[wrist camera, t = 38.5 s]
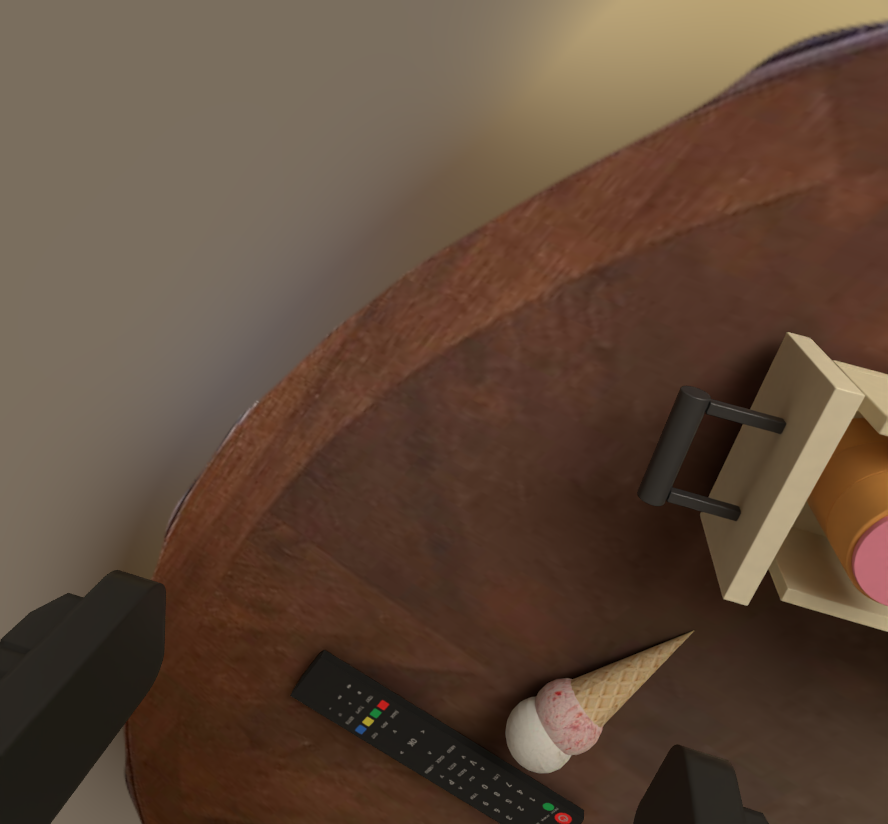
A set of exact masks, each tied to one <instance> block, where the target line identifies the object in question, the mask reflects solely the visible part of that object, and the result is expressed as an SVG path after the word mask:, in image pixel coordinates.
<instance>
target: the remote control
mask: <svg viewBox="0 0 888 824" xmlns="http://www.w3.org/2000/svg"><path fill="white" fill-rule="evenodd" d="M290 696H292V697H293V698H295V699H297V700H298V701H300V702H302V703H303V704H305V705H306V706H308V707H310V708H311V709H313V710H315V711H316V712H318V713H320V714H321V715H323V716H325V717H326V718H328V719H329V720H331V721H333V722H334V723H336V724H338V725H339V726H341V727H343V728H344V729H346V730H348V731H349V732H351V733H352V734H354V735H356V736H357V737H359V738H361V739H362V740H364V741H366V742H367V743H369V744H371V745H372V746H374V747H375V748H377V749H379V750H380V751H382V752H384V753H385V754H387V755H389V756H390V757H392V758H393V759H395V760H397V761H398V762H400V763H402V764H403V765H405V766H407V767H408V768H410V769H412V770H413V771H415V772H416V773H418V774H420V775H421V776H423V777H425V778H426V779H428V780H430V781H431V782H433V783H435V784H436V785H438V786H439V787H441V788H443V789H444V790H446V791H448V792H449V793H451V794H453V795H454V796H456V797H457V798H459V799H461V800H462V801H464V802H466V803H467V804H469V805H471V806H472V807H474V808H476V809H477V810H479V811H480V812H482V813H484V814H485V815H487V816H489V817H490V818H492V819H494V820H495V821H497V822H499V823H500V824H581V823H582V821H583V820H584V810H583V809H581V808H579V807H578V806H576V805H575V804H573V803H571V802H570V801H568V800H566V799H565V798H563V797H562V796H560V795H558V794H557V793H555V792H554V791H552V790H550V789H549V788H547V787H545V786H544V785H542V784H541V783H539V782H537V781H536V780H534V779H533V778H531V777H529V776H528V775H526V774H524V773H523V772H521V771H520V770H518V769H516V768H515V767H513V766H512V765H510V764H508V763H507V762H505V761H503V760H502V759H500V758H499V757H497V756H495V755H494V754H492V753H491V752H489V751H487V750H486V749H484V748H482V747H481V746H479V745H478V744H476V743H474V742H473V741H471V740H470V739H468V738H466V737H465V736H463V735H461V734H460V733H458V732H457V731H455V730H453V729H452V728H450V727H449V726H447V725H445V724H444V723H442V722H440V721H439V720H437V719H436V718H434V717H432V716H431V715H429V714H428V713H426V712H424V711H423V710H421V709H419V708H418V707H416V706H415V705H413V704H411V703H410V702H408V701H407V700H405V699H403V698H402V697H400V696H398V695H397V694H395V693H394V692H392V691H390V690H389V689H387V688H386V687H384V686H382V685H381V684H379V683H377V682H376V681H374V680H373V679H371V678H369V677H368V676H366V675H364V674H363V673H361V672H360V671H358V670H356V669H355V668H353V667H352V666H350V665H348V664H347V663H345V662H343V661H342V660H340V659H339V658H337V657H335V656H334V655H332V654H331V653H329V652H327V651H326V650H324V651H322V652H321V653H320V654H319V655H318V656H317V657H316V659H315V660H314V661H313V662H312V664H311V665H310V666H309V668H308V669H307V670H306V672H305V673H304V674H303V676H302V677H301V679H300V680H299V682H298V683H297V685H296V686H295V688H294V689H293V691H292V693H291V695H290Z"/></svg>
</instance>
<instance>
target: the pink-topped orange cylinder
mask: <svg viewBox="0 0 888 824" xmlns="http://www.w3.org/2000/svg"><path fill="white" fill-rule="evenodd" d="M807 503H808V505H809V506H810V508H811V510H812V512H813V514H814V515H815V517H816V519H817V521H818V523H819V524H820V526H821V528H822V530H823V532H824V533H825V535H826V537H827V539H828V541H829V542H830V544H831V546H832V548H833V550H834V551H835V553H836V555H837V557H838V559H839V561H840V562H841V564H842V566H843V568H844V570H845V571H846V573H847V575H848V577H849V579H850V580H851V582H852V583H853V585H854V586H855V587H856V588H857V589H858V590H859V591H860V592H861V593H862V594H863V595H865V596H866V597H868V598H870V599H871V600H873V601H875V602H878V603H880V604H883V605H886V606H888V436H884V435H881V434H879V433H878V432H877V431H876V430H875V429H874V428H873V427H872V426H871V424H870V423H869V422H868V421H867V420H866V419H865V418H854V419H852V420H851V422H850V424H849V426H848V427H847V429H846V431H845V433H844V435H843V436H842V438H841V440H840V442H839V443H838V445H837V447H836V449H835V451H834V452H833V454H832V456H831V458H830V460H829V461H828V463H827V465H826V467H825V468H824V470H823V472H822V474H821V476H820V477H819V479H818V481H817V483H816V484H815V486H814V488H813V490H812V492H811V493H810V495H809V497H808V499H807Z"/></svg>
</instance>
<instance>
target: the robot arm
mask: <svg viewBox="0 0 888 824" xmlns="http://www.w3.org/2000/svg"><path fill="white" fill-rule="evenodd" d="M165 608H166V590H165V587H164V585H163V584H161V583H158V582H155V581H152V580H148V579H145V578H142V577H139V576H136V575H133V574H129V573H126V572H122V571H120V570H115V571H112V572H110V573H109V574H107V576H105V577H104V578H103V579H102V580H101V581H100V582H99V583H98V584H97V585H96V586H95V587H94V588H93V589H92V590H91V591H90V592H89V593H88V594H87V595H86V596H85V597H84V598H83V597H80V596H77V595H73V594H70V593H67V594H65V595H63V596H61V597H59V598H57V599H55V600H53V601H51V602H50V603H48V604H46V605H44V606H42V607H40V608H38V609H36V610H34V611H32V612H30V613H29V614H28V615H27V616H26V617H25V618H24V619H23V620H21V621H20V622H19V623H18V624H17V625H16V626H15V627H14V628H13V629H12V630H10V631H9V632H8V633H7V634H6V635H5V636H4V637H3V638H2V639H1V641H0V824H51V822H52V821H53V819H54V818H55V817H56V815H57V814H58V813H59V811H60V810H61V809H62V807H63V806H64V805H65V803H66V802H67V801H68V799H69V798H70V797H71V795H72V794H73V793H74V791H75V790H76V789H77V787H78V786H79V785H80V783H81V782H82V780H83V779H84V778H85V776H86V775H87V774H88V772H89V771H90V769H91V768H92V767H93V766H94V764H95V763H96V762H97V760H98V759H99V758H100V756H101V755H102V754H103V752H104V751H105V750H106V748H107V747H108V745H109V744H110V743H111V741H112V740H113V739H114V737H115V736H116V735H117V733H118V732H119V731H120V729H121V728H122V727H123V725H124V724H125V723H126V721H127V720H128V719H129V717H130V716H131V715H132V713H133V712H134V711H135V709H136V708H137V706H138V705H139V704H140V702H141V701H142V700H143V698H144V697H145V696H146V694H147V693H148V691H149V690H150V688H151V687H152V685H153V683H154V681H155V679H156V677H157V675H158V672H159V670H160V667H161V664H162V661H163V656H164V644H165ZM633 824H769V823H768V822H767V820H766V818H765V817H764V815H763V813H760V812H757V811H754V810H751V809H748V808H745V807H743V805H742V800H741V796H740V791H739V787H738V782H737V778H736V774H735V770H734V768H733V766H732V764H731V763H730V762H729V761H728V760H725V759H722V758H719V757H716V756H712V755H709V754H706V753H703V752H700V751H697V750H693V749H690V748H687V747H684V746H681V745H674V746H673V747H672V748H671V749H670V751H669V752H668V754H667V756H666V757H665V759H664V761H663V763H662V765H661V766H660V768H659V770H658V772H657V773H656V775H655V777H654V779H653V780H652V782H651V784H650V786H649V788H648V789H647V791H646V793H645V795H644V796H643V798H642V800H641V802H640V804H639V806H638V808H637V811H636V815H635V819H634V823H633Z"/></svg>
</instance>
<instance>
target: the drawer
mask: <svg viewBox="0 0 888 824" xmlns="http://www.w3.org/2000/svg"><path fill="white" fill-rule="evenodd" d="M705 412H706V414H708V415H712V416H716V417H719V418H723V419H727V420H730V421H734V422H738V423H741V424H743V425H742V427H741V429H740V431H739V434H738V436H737V438H736V440H735V442H734V444H733V446H732V448H731V450H730V452H729V455H728V457H727V459H726V461H725V463H724V465H723V467H722V469H721V471H720V473H719V475H718V478H717V480H716V482H715V484H714V486H713V488H712V490H711V492H710V494H709V496H708V497H705V496H701V495H698V494H694V493H691V492H687V491H684V490H680V489H677V488H673V487H672V486H673V483H674V481H675V479H676V477H677V474H678V472H679V470H680V467H681V465H682V463H683V461H684V458H685V456H686V454H687V452H688V449H689V447H690V445H691V443H692V440H693V438H694V436H695V434H696V431H697V429H698V427H699V425H700V422H701V420H702V418H703V416H704V413H705ZM854 418H865V419H866V420H867V421H868V422H869V423H870V424H871V426H872V427H873V428H874V429H875V430H876V431H877V432H878V433H879V434H881V435H884V436H888V374H884V373H880V372H877V371H873V370H869V369H865V368H861V367H858V366H854V365H850V364H846V363H842V362H839V361H835V360H833V361H832V360H831V359H830V358H829V357H828V356H827V355H826V354H825V353H824V352H823V351H822V350H821V349H820V348H819V347H818V346H817V345H816V344H815V342H814V341H813V340H812V339H811V338H808V337H805V336H801V335H797V334H793V333H789V332H787V333H786V335H785V337H784V339H783V341H782V343H781V345H780V348H779V350H778V352H777V354H776V356H775V358H774V360H773V362H772V364H771V366H770V369H769V371H768V373H767V375H766V377H765V379H764V381H763V383H762V385H761V387H760V389H759V392H758V394H757V396H756V398H755V400H754V402H753V404H752V406H751V408H750V409H746V408H743V407H739V406H735V405H731V404H728V403H724V402H720V401H717V400H713V399H711V397H710V395H709V394H708V393H706V392H705V391H703V390H701V389H698V388H695V387H691V386H682V387H681V388H680V391H679V393H678V395H677V398H676V400H675V403H674V405H673V407H672V410H671V412H670V415H669V417H668V419H667V422H666V424H665V427H664V429H663V431H662V434H661V436H660V439H659V441H658V444H657V446H656V448H655V451H654V453H653V456H652V458H651V460H650V463H649V465H648V468H647V470H646V472H645V475H644V477H643V480H642V482H641V484H640V487H639V489H638V492H637V494H638V497H639V498H640V499H641V500H642V501H644V502H646V503H648V504H650V505H653V506H662V505H663V504H664V503H665V501H666V499H667V502H670V503H673V504H677V505H680V506H684V507H687V508H691V509H694V510H698V511H701V513H700V517H701V521H702V524H703V528H704V532H705V535H706V539H707V543H708V546H709V550H710V553H711V557H712V561H713V564H714V568H715V572H716V575H717V579H718V582H719V586H720V590H721V593H722V597H723V599H725V600H729V601H732V602H735V603H739V604H742V605H745V606H748V604H749V602H750V601H751V599H752V597H753V595H754V593H755V592H756V590H757V588H758V586H759V584H760V583H761V581H762V579H763V577H764V576H765V574H766V572H767V570H768V569H769V572H770V574H771V577H772V579H773V582H774V585H775V587H776V590H777V592H778V595H779V597H780V600H781V601H784V602H787V603H791V604H794V605H798V606H801V607H804V608H808V609H811V610H815V611H818V612H821V613H825V614H828V615H832V616H835V617H838V618H842V619H845V620H849V621H852V622H856V623H859V624H862V625H866V626H869V627H873V628H876V629H879V630H883V631H886V632H888V606H886V605H883V604H880V603H878V602H875V601H873V600H871V599H870V598H868V597H866V596H865V595H863V594H862V593H861V592H860V591H859V590H858V589H857V588H856V587H855V586H854V585H853V583H852V582H851V580H850V579H849V577H848V575H847V573H846V571H845V570H844V568H843V566H842V564H841V562H840V561H839V559H838V557H837V555H836V553H835V551H834V550H833V548H832V546H831V544H830V542H829V541H828V539H827V537H826V535H825V533H824V532H823V530H822V528H821V526H820V524H819V523H818V521H817V519H816V517H815V515H814V514H813V512H812V510H811V508H810V506H809V505H808V503H807V499H808V497H809V495H810V493H811V492H812V490H813V488H814V486H815V484H816V483H817V481H818V479H819V477H820V476H821V474H822V472H823V470H824V468H825V467H826V465H827V463H828V461H829V460H830V458H831V456H832V454H833V452H834V451H835V449H836V447H837V445H838V443H839V442H840V440H841V438H842V436H843V435H844V433H845V431H846V429H847V427H848V426H849V424H850V422H851V420H852V419H854Z"/></svg>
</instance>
